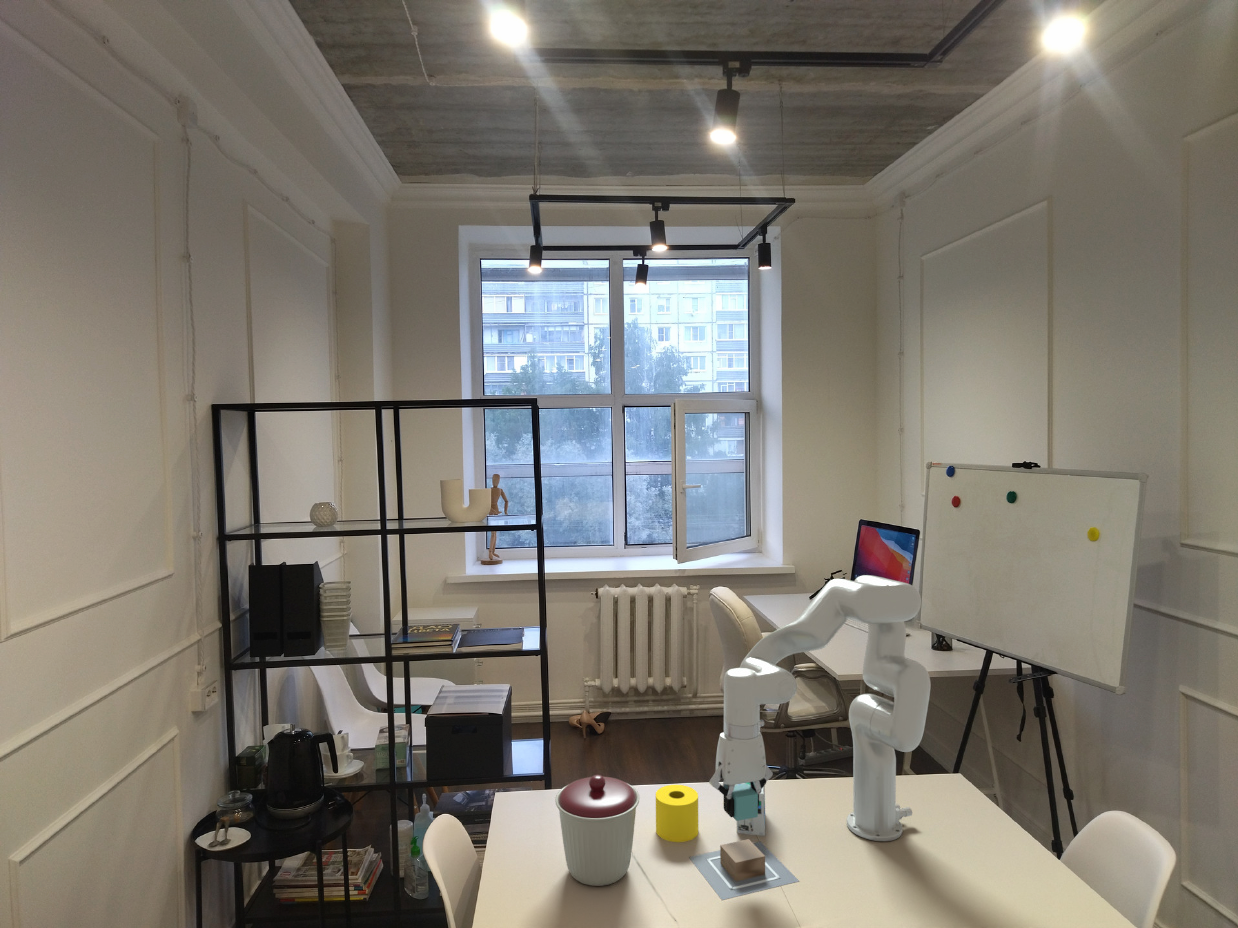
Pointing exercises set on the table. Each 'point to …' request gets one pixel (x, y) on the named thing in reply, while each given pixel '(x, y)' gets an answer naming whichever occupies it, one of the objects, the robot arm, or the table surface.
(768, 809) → the table surface
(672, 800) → the yellow hollow cylinder
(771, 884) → the grey mat
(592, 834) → the canister
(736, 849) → the walnut block
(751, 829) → the light bulb box
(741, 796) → the teal block
